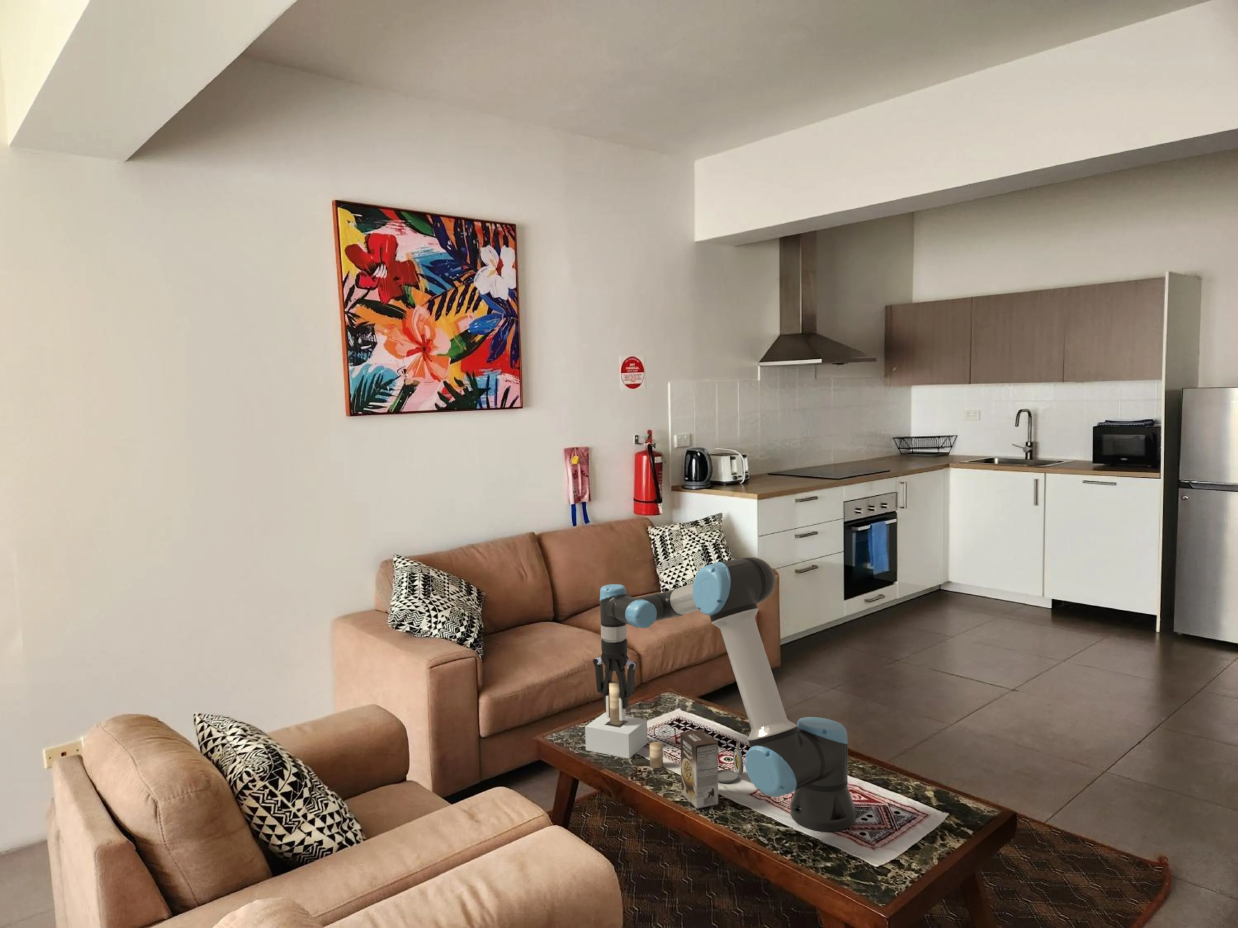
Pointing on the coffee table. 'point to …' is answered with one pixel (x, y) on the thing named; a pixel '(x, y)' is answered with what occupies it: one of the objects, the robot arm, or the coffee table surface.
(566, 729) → the coffee table surface
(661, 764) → the short peg
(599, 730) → the hole block
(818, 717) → the robot arm
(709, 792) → the coffee box
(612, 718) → the tall peg
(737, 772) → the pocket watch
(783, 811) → the coffee table surface
